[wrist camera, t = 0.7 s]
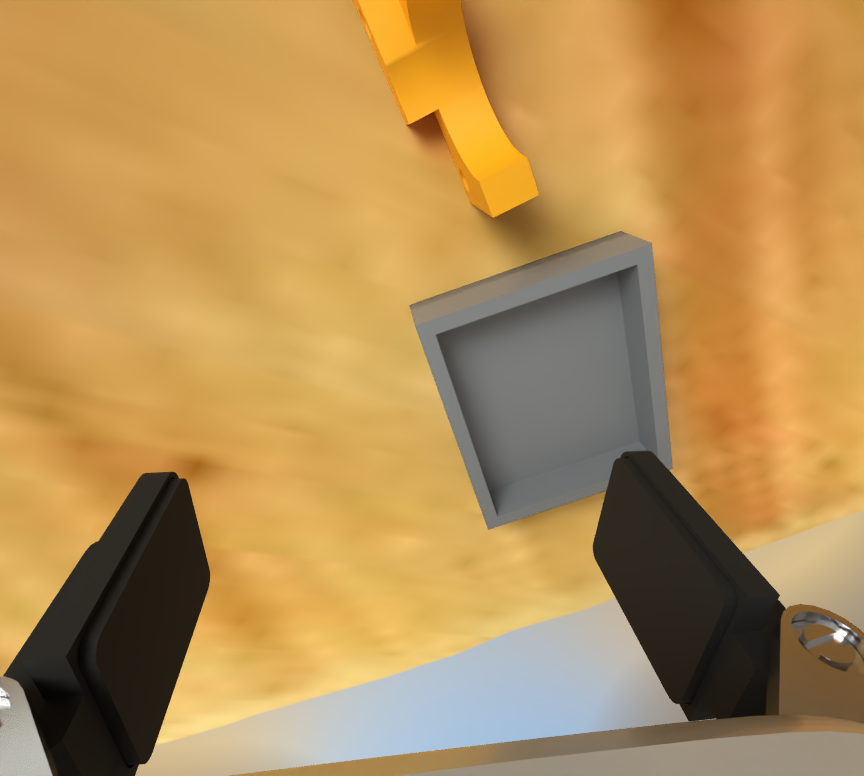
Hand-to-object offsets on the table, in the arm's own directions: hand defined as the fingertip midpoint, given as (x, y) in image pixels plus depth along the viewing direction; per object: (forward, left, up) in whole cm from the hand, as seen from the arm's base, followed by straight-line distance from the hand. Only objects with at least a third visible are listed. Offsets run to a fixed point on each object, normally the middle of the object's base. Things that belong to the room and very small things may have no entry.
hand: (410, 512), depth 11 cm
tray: (-8, +12, -24) cm, 28 cm away
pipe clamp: (-6, -8, -24) cm, 26 cm away
